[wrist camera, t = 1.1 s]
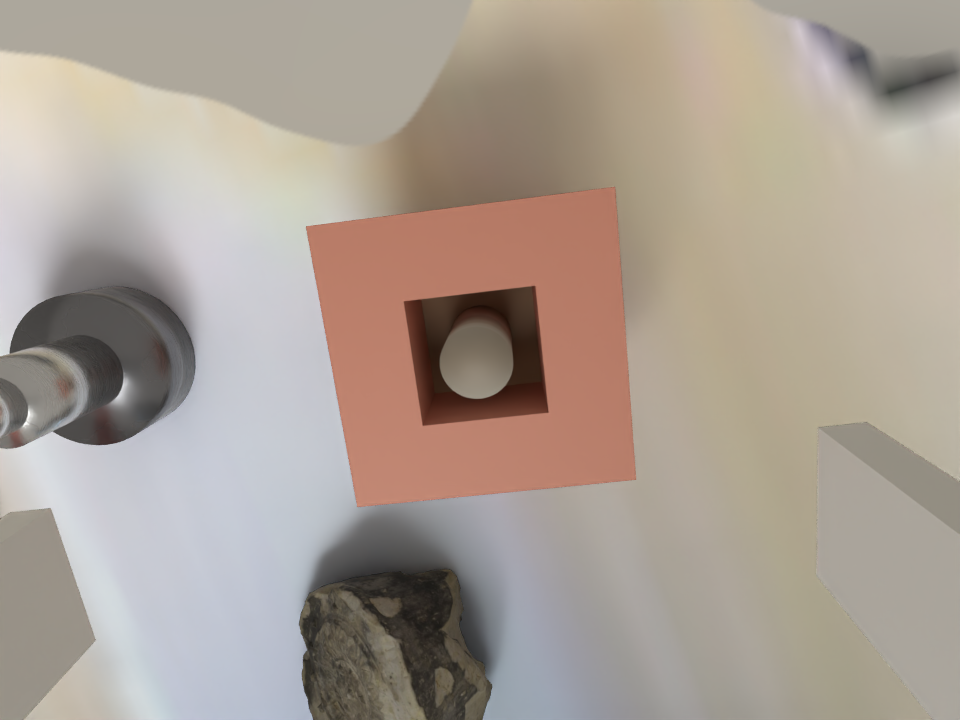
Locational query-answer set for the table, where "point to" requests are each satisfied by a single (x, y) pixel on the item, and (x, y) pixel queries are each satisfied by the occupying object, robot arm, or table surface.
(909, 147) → the table surface
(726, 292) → the table surface
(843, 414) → the table surface
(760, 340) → the table surface
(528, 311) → the stand
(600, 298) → the salmon square frame
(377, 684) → the fossil
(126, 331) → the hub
